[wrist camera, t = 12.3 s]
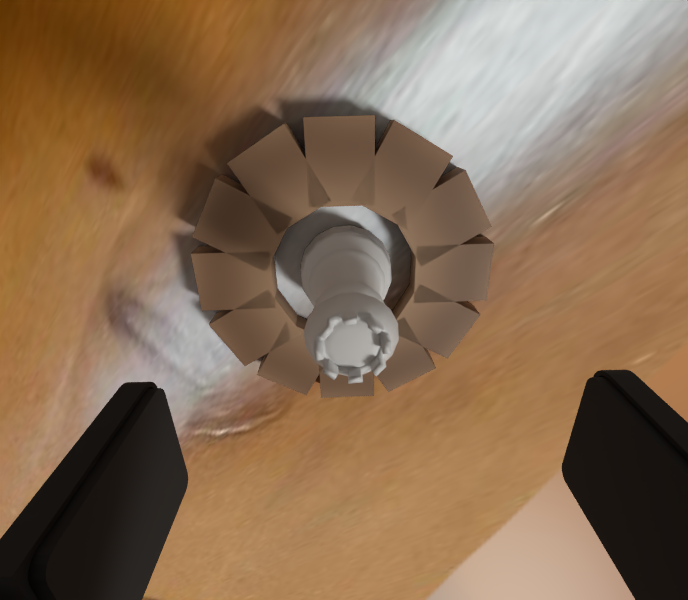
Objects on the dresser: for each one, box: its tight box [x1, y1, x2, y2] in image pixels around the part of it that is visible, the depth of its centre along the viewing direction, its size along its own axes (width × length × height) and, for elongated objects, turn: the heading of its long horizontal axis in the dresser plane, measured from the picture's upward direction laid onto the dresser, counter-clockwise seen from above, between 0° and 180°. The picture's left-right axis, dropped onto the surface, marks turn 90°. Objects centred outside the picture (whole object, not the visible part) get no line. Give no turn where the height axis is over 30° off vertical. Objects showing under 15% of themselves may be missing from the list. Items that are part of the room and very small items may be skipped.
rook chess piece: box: [301, 225, 399, 384], centre depth 16 cm, size 4×4×8 cm
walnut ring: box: [191, 115, 494, 398], centre depth 19 cm, size 14×14×1 cm
